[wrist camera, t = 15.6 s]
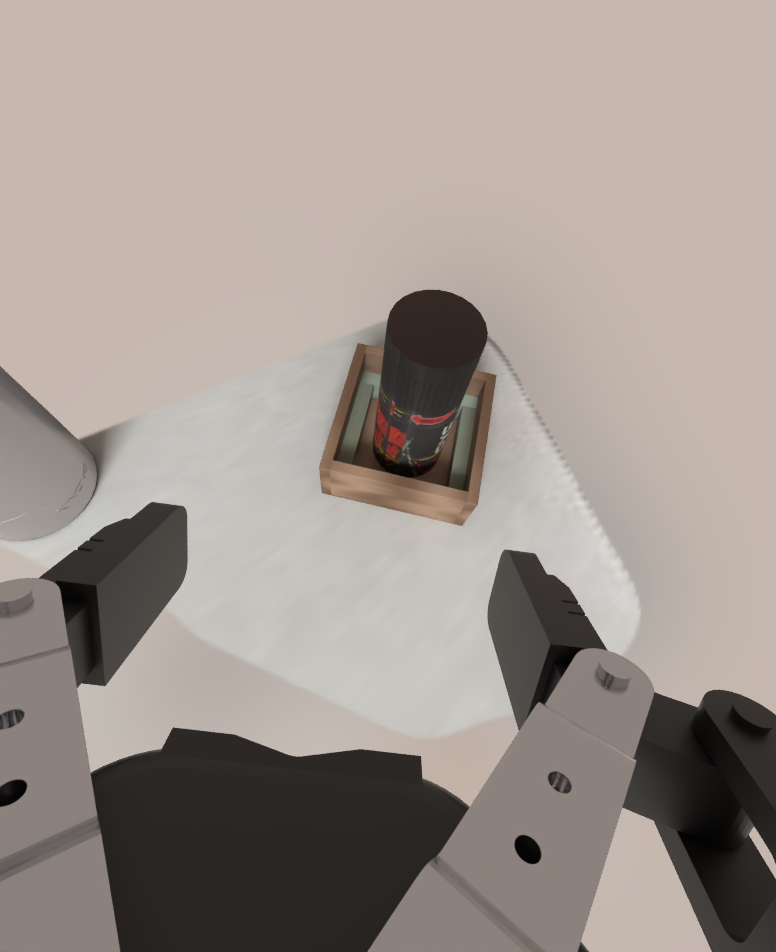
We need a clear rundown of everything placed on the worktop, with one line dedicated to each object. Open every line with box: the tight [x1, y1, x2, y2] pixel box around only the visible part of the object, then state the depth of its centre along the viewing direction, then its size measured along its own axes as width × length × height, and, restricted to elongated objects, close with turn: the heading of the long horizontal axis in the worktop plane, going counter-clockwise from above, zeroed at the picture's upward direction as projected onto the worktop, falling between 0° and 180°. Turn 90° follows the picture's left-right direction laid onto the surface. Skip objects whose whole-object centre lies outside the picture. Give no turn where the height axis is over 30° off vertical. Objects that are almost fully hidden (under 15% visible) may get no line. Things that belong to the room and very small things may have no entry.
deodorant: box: [373, 290, 488, 478], centre depth 34 cm, size 6×6×15 cm
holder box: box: [319, 343, 496, 526], centre depth 40 cm, size 12×12×5 cm
